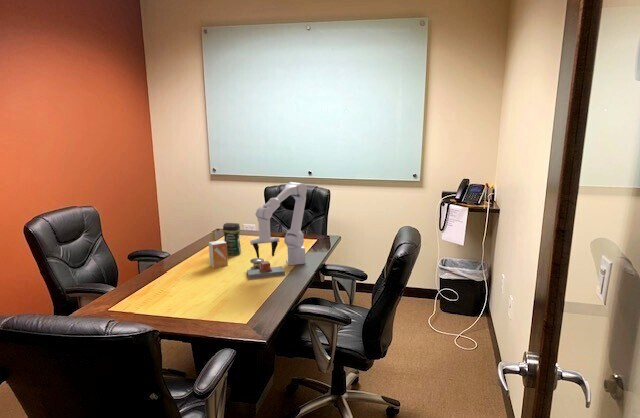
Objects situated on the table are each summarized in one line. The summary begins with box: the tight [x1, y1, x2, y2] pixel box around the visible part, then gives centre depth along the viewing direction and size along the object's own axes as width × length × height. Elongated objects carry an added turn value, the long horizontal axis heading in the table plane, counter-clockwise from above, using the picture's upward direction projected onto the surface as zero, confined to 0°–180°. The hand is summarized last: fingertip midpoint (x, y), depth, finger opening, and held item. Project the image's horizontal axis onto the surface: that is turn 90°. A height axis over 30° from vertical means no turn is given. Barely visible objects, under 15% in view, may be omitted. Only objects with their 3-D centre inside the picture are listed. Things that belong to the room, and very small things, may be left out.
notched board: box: [246, 265, 286, 280], centre depth 216 cm, size 18×8×2 cm, turn 106°
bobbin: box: [250, 257, 265, 272], centre depth 224 cm, size 7×7×5 cm
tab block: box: [260, 260, 271, 273], centre depth 217 cm, size 4×4×6 cm
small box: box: [208, 239, 229, 269], centre depth 229 cm, size 8×6×13 cm
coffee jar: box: [222, 222, 242, 256], centre depth 249 cm, size 10×8×19 cm
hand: (265, 256), depth 217 cm, fingers open, 7 cm apart
